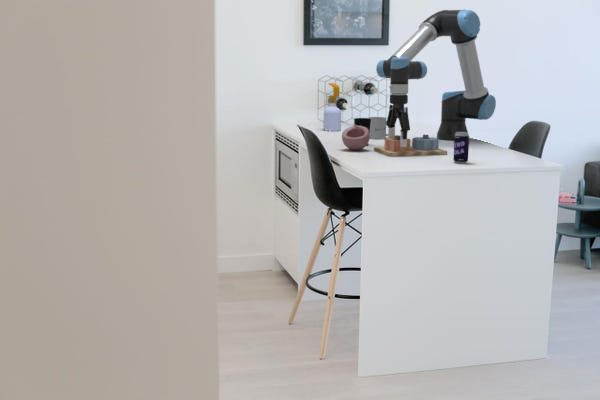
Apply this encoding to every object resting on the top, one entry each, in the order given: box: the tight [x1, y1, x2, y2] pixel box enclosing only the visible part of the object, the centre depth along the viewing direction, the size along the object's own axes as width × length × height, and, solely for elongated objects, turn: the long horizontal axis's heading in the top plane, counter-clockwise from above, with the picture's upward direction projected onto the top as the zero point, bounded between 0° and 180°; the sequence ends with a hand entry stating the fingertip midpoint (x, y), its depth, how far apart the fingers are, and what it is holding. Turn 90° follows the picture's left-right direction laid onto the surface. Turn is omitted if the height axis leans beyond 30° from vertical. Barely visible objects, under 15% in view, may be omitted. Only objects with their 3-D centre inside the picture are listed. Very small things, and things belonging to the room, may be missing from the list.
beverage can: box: [452, 132, 470, 164], centre depth 335 cm, size 6×6×12 cm
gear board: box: [373, 134, 448, 158], centre depth 362 cm, size 26×18×8 cm
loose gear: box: [384, 137, 412, 152], centre depth 360 cm, size 11×11×4 cm
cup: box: [353, 117, 371, 147], centre depth 386 cm, size 8×8×12 cm
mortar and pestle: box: [341, 123, 371, 151], centre depth 368 cm, size 12×12×12 cm
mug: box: [368, 116, 388, 141], centre depth 412 cm, size 12×9×10 cm
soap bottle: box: [323, 82, 342, 132], centre depth 443 cm, size 9×9×25 cm
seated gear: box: [411, 136, 440, 151], centre depth 364 cm, size 11×11×4 cm
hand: (397, 145), depth 360 cm, fingers open, 12 cm apart
